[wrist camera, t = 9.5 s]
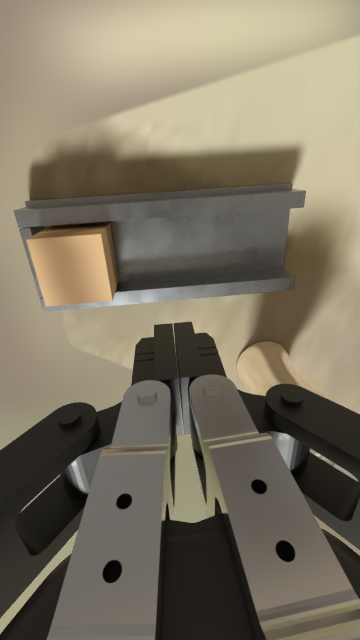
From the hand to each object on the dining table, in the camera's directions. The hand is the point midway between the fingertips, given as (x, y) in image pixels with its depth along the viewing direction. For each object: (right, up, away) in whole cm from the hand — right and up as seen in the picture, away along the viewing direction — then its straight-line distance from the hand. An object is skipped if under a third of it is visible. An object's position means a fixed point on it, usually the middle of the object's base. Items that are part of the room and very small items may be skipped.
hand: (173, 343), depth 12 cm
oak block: (-8, +7, +14) cm, 17 cm away
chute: (-1, +8, +15) cm, 17 cm away
